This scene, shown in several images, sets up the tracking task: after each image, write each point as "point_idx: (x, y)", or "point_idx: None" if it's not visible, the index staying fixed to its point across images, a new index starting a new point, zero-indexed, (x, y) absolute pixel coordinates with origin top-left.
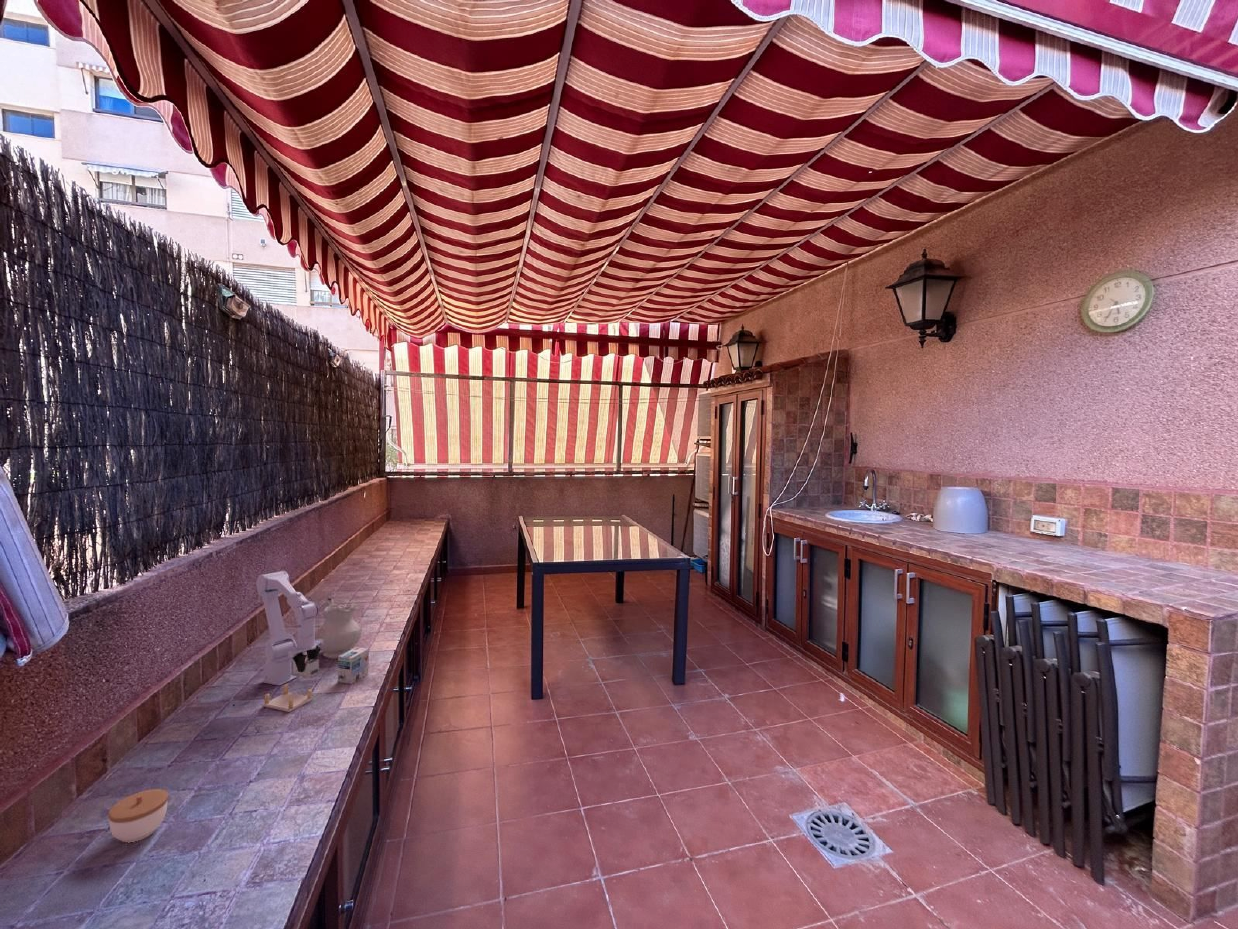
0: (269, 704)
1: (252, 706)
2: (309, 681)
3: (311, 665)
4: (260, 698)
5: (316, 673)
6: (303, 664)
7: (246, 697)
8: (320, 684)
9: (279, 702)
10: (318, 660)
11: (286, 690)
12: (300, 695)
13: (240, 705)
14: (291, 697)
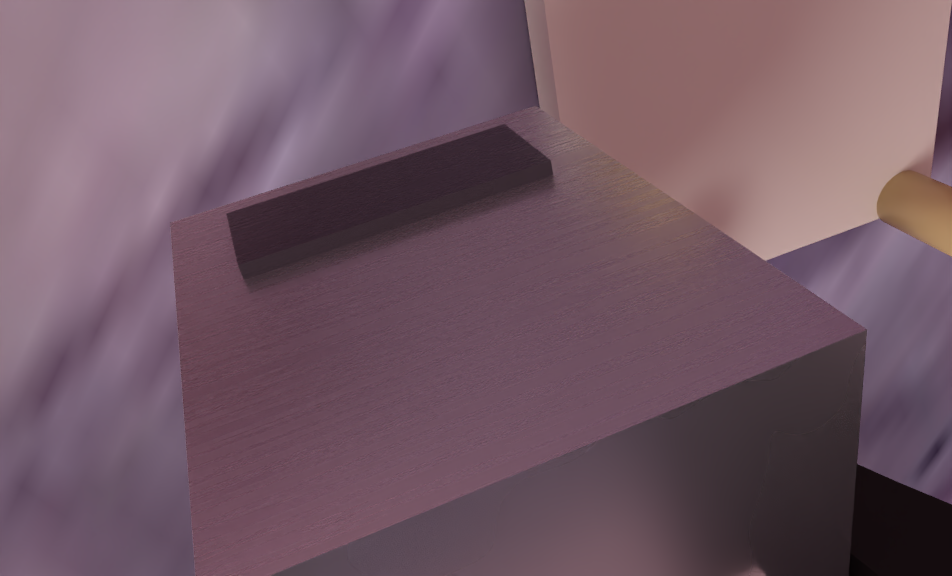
0: (932, 115)
1: (921, 292)
2: (112, 537)
3: (681, 296)
4: None
5: (272, 192)
6: (871, 522)
7: None
8: (7, 299)
9: (854, 60)
10: (235, 549)
11: None
12: (571, 21)
13: (929, 403)
14: (682, 79)
